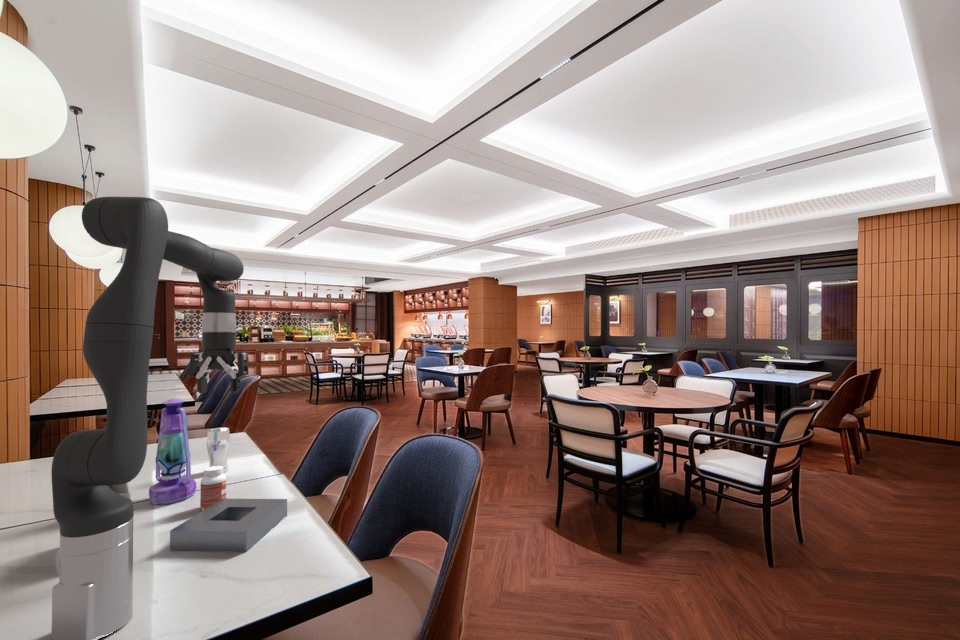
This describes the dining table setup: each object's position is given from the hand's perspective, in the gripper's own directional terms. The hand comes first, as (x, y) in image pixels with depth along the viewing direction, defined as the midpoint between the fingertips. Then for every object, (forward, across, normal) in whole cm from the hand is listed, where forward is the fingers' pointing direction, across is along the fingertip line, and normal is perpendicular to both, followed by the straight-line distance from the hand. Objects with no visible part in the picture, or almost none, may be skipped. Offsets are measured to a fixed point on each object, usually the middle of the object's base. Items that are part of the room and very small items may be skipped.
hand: (219, 392), depth 107 cm
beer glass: (+34, -28, +40) cm, 60 cm away
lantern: (+34, -26, +17) cm, 46 cm away
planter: (+34, -20, -12) cm, 42 cm away
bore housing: (+34, +6, -3) cm, 35 cm away
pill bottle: (+34, -9, +11) cm, 37 cm away
